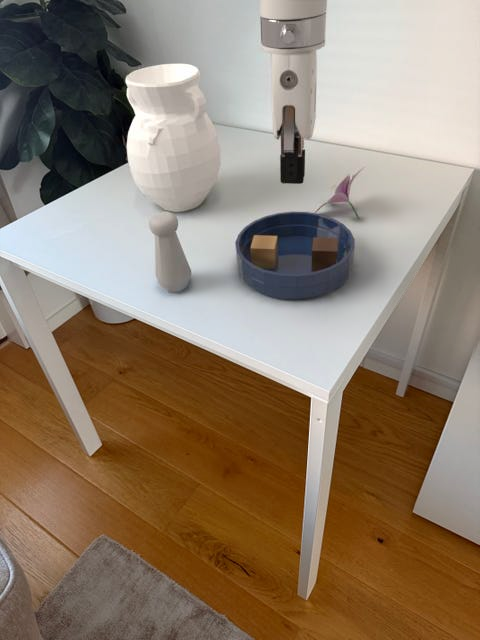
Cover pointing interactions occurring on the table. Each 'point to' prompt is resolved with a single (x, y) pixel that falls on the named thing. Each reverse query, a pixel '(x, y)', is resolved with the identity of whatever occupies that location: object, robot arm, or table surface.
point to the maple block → (264, 251)
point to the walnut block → (324, 253)
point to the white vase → (171, 137)
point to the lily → (342, 192)
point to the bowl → (295, 255)
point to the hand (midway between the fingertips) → (292, 179)
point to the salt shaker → (169, 253)
